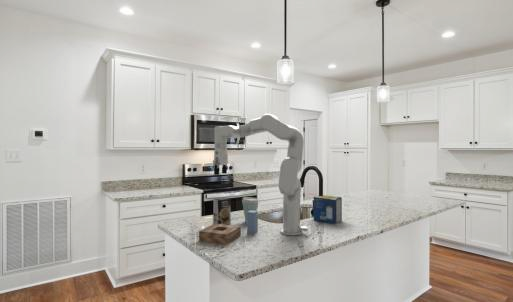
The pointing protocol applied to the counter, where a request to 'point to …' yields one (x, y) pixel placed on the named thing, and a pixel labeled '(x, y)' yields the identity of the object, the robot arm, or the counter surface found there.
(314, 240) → the counter surface
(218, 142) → the robot arm
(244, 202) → the disposable coffee cup
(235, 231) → the socket block
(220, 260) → the counter surface
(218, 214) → the coffee box
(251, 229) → the peg
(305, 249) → the counter surface
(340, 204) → the protein box
